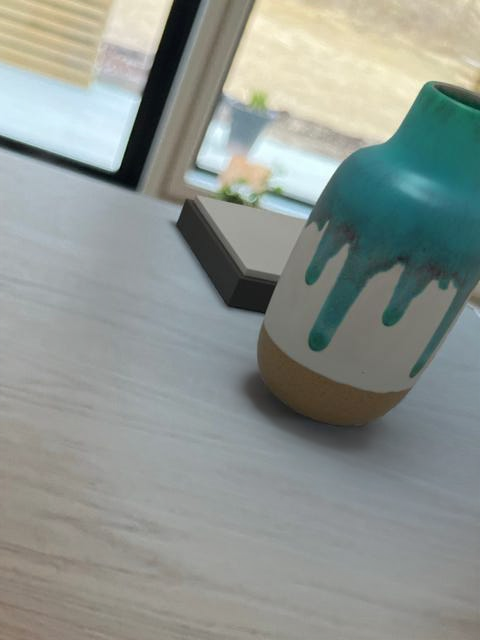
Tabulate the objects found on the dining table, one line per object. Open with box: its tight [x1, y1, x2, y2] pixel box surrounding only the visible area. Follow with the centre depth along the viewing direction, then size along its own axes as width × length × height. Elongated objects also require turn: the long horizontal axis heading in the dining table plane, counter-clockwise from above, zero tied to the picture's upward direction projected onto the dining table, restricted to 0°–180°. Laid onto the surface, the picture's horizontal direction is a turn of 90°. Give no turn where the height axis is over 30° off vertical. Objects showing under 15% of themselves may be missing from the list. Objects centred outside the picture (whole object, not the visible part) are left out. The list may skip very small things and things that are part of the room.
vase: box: [256, 80, 480, 427], centre depth 62 cm, size 11×11×19 cm
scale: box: [176, 194, 307, 314], centre depth 83 cm, size 15×14×3 cm
